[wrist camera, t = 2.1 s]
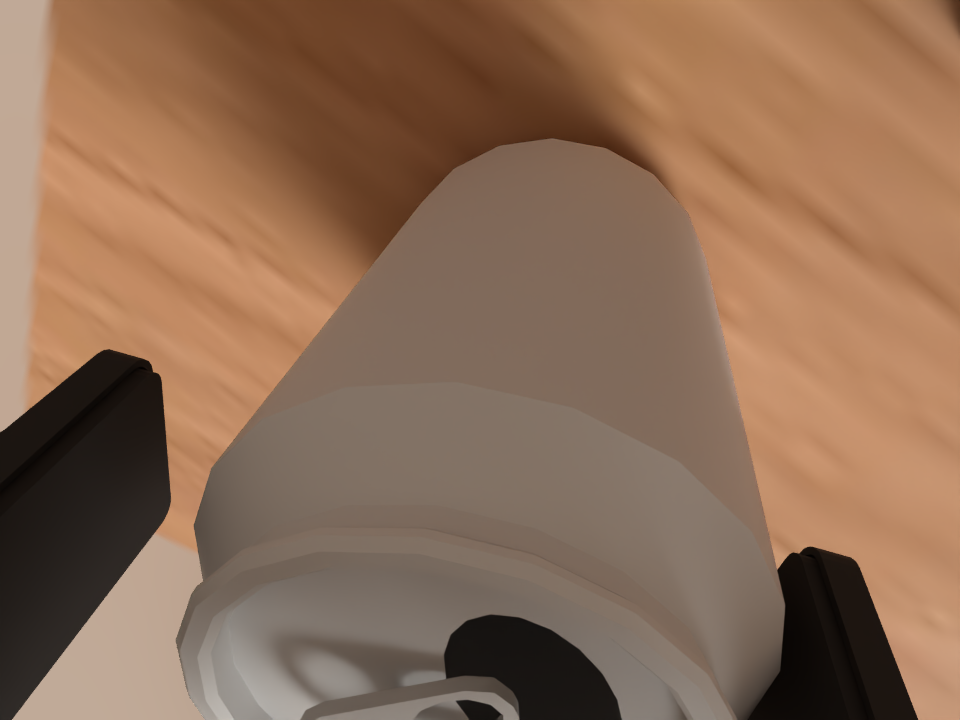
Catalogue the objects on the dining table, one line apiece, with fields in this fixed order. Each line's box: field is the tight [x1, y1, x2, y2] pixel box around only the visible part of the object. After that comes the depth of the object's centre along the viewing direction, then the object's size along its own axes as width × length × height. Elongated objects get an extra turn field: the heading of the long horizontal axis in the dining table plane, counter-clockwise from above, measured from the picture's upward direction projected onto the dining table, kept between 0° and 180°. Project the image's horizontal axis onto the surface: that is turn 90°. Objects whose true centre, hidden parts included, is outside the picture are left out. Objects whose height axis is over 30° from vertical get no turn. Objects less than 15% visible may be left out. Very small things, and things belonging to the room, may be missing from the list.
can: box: [176, 138, 785, 720], centre depth 12 cm, size 8×8×12 cm
